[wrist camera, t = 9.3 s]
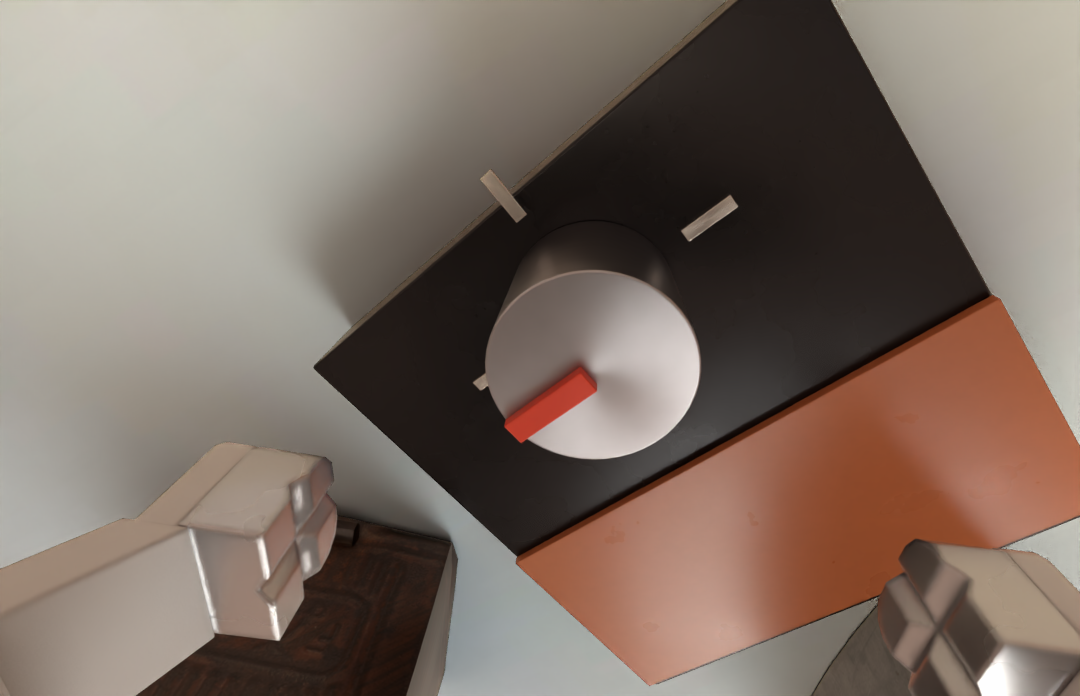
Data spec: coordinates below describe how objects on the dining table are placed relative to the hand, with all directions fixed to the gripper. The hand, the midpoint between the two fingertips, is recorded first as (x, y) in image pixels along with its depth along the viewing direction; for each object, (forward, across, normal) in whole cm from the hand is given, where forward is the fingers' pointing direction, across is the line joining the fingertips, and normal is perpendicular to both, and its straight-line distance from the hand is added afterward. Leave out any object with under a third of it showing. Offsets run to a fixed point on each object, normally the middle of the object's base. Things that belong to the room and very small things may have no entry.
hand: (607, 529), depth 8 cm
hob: (+11, -4, +3) cm, 12 cm away
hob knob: (+8, 0, 0) cm, 8 cm away
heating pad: (+8, -7, +6) cm, 12 cm away
